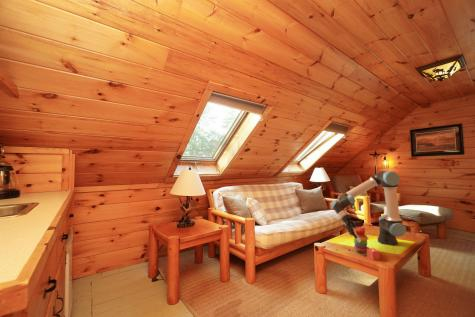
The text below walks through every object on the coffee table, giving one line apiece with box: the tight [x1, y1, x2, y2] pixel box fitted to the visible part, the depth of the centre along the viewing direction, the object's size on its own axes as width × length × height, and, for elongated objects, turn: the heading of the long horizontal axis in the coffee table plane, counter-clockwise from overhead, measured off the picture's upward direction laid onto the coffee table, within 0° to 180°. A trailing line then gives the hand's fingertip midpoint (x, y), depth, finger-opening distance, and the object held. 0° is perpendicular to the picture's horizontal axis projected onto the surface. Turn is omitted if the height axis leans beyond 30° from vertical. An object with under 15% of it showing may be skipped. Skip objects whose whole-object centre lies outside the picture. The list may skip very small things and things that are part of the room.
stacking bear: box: [353, 226, 370, 252], centre depth 178 cm, size 11×10×18 cm
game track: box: [351, 247, 382, 257], centre depth 178 cm, size 15×13×1 cm
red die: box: [366, 247, 381, 261], centre depth 167 cm, size 6×6×6 cm
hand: (363, 240), depth 175 cm, fingers closed on stacking bear, 9 cm apart
